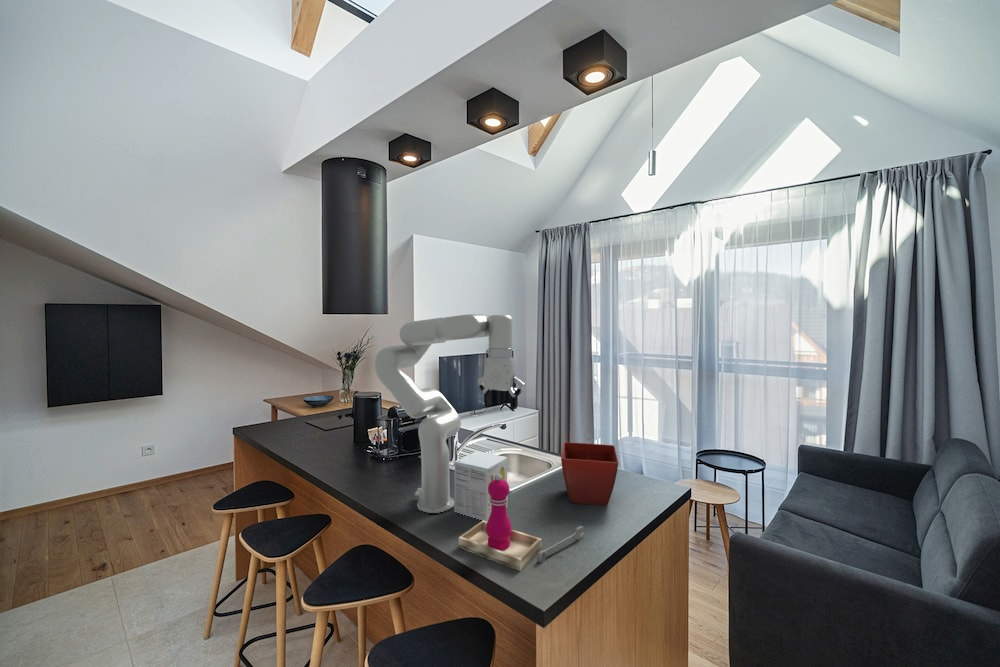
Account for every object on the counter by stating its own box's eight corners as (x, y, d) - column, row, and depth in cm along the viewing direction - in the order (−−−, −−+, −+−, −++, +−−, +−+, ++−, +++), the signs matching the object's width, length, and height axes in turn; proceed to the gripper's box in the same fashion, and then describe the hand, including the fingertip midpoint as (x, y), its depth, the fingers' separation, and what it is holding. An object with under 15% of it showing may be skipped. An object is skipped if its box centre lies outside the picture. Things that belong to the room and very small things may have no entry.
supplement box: (487, 523, 131) (486, 468, 130) (453, 513, 138) (453, 461, 137) (508, 507, 142) (508, 456, 142) (476, 498, 149) (476, 450, 148)
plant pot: (618, 511, 139) (618, 462, 138) (560, 506, 142) (560, 458, 142) (614, 488, 157) (614, 444, 157) (563, 484, 161) (563, 441, 160)
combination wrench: (539, 552, 109) (586, 525, 122) (535, 550, 110) (582, 524, 123) (539, 566, 109) (586, 538, 122) (536, 564, 110) (583, 536, 123)
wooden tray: (458, 548, 117) (458, 537, 117) (483, 529, 127) (482, 520, 127) (520, 571, 106) (520, 559, 106) (541, 549, 116) (541, 538, 116)
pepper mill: (480, 544, 117) (480, 474, 116) (499, 535, 122) (498, 467, 121) (498, 555, 111) (498, 481, 111) (517, 544, 117) (516, 474, 116)
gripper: (471, 353, 133) (471, 406, 134) (518, 355, 124) (518, 412, 124) (484, 351, 139) (484, 402, 140) (530, 354, 130) (530, 408, 131)
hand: (500, 407), depth 132 cm, fingers open, 9 cm apart
